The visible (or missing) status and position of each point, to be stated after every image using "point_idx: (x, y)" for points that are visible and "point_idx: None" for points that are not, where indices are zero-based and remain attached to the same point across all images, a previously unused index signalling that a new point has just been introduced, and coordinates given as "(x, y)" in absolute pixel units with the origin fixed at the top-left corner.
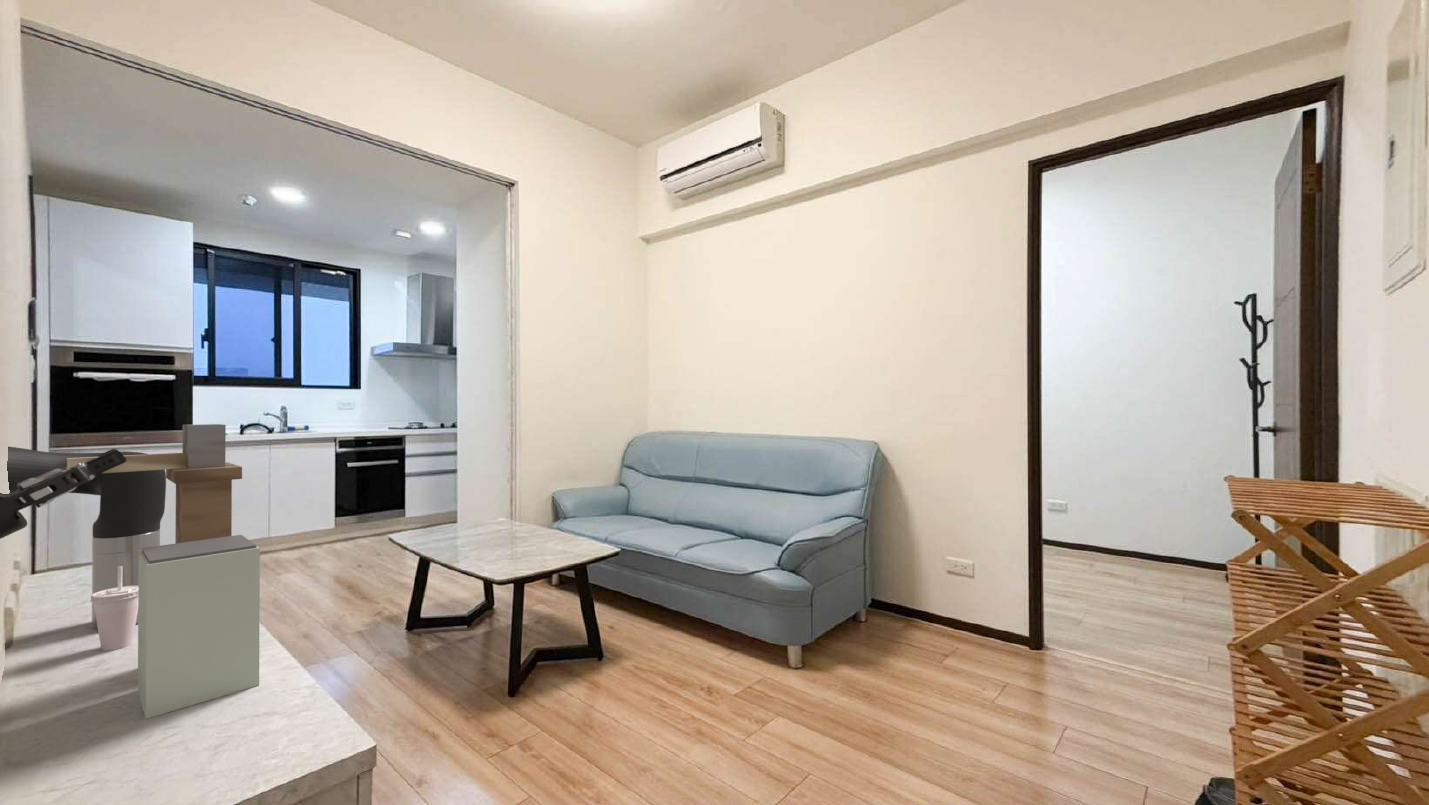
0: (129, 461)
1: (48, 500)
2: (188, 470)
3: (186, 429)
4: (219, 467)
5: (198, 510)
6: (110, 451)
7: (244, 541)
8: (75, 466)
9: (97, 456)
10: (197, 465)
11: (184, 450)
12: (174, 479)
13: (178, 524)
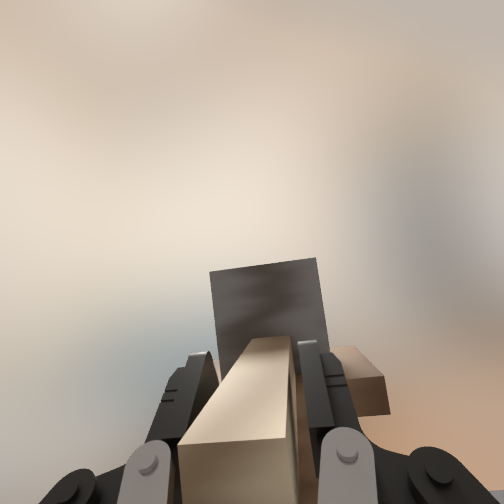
0: (291, 381)
1: None
2: (375, 368)
3: (278, 273)
4: (338, 355)
5: None
6: (206, 363)
7: (501, 496)
8: (347, 466)
9: (195, 396)
10: None
11: (251, 333)
12: (365, 404)
13: None
